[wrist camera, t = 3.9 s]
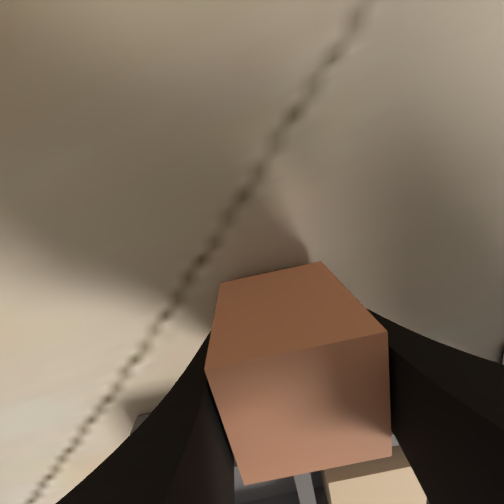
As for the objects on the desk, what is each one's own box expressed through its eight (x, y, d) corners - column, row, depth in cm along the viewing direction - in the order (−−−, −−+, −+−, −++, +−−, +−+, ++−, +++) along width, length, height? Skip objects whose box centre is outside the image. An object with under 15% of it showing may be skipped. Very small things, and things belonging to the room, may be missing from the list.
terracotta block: (320, 261, 10) (387, 331, 6) (331, 344, 12) (391, 455, 7) (220, 282, 11) (204, 369, 6) (242, 362, 12) (244, 485, 7)
